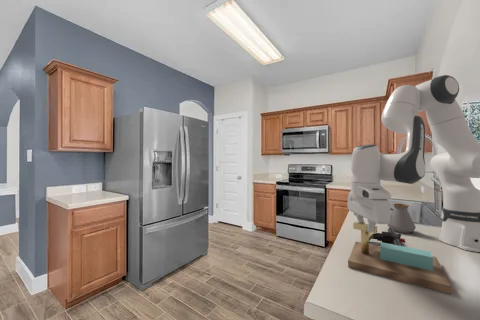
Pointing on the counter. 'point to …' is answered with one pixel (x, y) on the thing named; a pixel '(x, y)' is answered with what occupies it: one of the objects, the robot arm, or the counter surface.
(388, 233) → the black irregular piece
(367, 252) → the t key
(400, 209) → the coffee pot
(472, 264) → the counter surface
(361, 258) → the base
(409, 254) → the cover
